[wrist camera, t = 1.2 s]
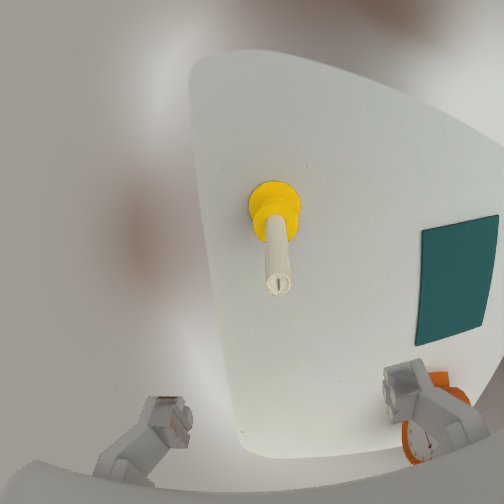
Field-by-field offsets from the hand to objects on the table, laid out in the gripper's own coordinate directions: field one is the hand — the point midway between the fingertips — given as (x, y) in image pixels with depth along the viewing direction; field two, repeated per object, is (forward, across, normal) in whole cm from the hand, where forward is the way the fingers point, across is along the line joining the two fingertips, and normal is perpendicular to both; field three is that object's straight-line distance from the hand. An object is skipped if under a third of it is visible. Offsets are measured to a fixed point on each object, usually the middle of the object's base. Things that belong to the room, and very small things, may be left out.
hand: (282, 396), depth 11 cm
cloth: (+23, -22, +15) cm, 35 cm away
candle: (+23, 0, 0) cm, 23 cm away
